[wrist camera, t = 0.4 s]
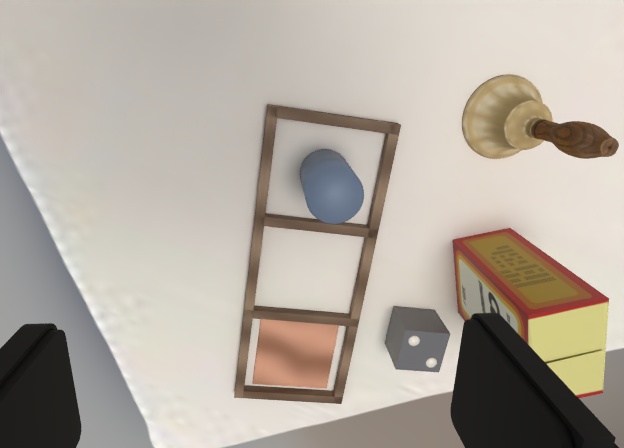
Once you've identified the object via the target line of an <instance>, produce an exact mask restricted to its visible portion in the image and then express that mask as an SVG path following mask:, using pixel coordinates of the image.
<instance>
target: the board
mask: <svg viewBox="0 0 624 448" xmlns="http://www.w3.org/2000/svg"><path fill="white" fill-rule="evenodd" d="M277 118H282V119H289V120H296V121H303V122H310V123H317V124H324V125H331V126H338V127H346V128H353V129H360V130H367V131H374V132H381V133H386V137H385V142H384V147H383V152H382V156H381V161H380V166H379V171H378V176H377V181H376V186H375V191H374V196H373V200H372V205H371V210H370V215H369V220H368V225H361V224H352V223H343V222H342V223H338V224H330V223H325V222H322V221H320V220H317V219H308V218H299V217H290V216H282V215H273V214H265V212H266V204H267V196H268V187H269V179H270V171H271V163H272V155H273V146H274V138H275V130H276V122H277ZM400 127H401V125H400V124H398V123H392V122H385V121H378V120H371V119H365V118H358V117H351V116H344V115H337V114H330V113H323V112H317V111H310V110H303V109H296V108H289V107H282V106H275V105H269V104H268V106H267V115H266V124H265V133H264V141H263V150H262V159H261V168H260V176H259V185H258V194H257V203H256V211H255V220H254V229H253V238H252V246H251V255H250V264H249V272H248V281H247V290H246V299H245V307H244V316H243V325H242V334H241V342H240V351H239V360H238V369H237V377H236V386H235V395H234V398H251V399H268V400H285V401H302V402H319V403H336V404H341V403H342V398H343V393H344V389H345V384H346V379H347V375H348V370H349V365H350V361H351V356H352V351H353V347H354V342H355V337H356V333H357V328H358V323H359V319H360V314H361V309H362V305H363V300H364V295H365V291H366V286H367V281H368V277H369V272H370V267H371V263H372V258H373V253H374V249H375V244H376V239H377V234H378V230H379V225H380V220H381V216H382V211H383V206H384V202H385V197H386V192H387V188H388V183H389V178H390V174H391V169H392V164H393V160H394V155H395V150H396V146H397V141H398V136H399V132H400ZM264 226H269V227H278V228H287V229H296V230H305V231H315V232H324V233H333V234H342V235H351V236H360V237H365V240H364V245H363V249H362V254H361V259H360V264H359V269H358V274H357V279H356V284H355V289H354V293H353V298H352V303H351V308H350V313H349V314H344V313H332V312H321V311H309V310H297V309H286V308H274V307H262V306H254V302H255V294H256V285H257V277H258V269H259V261H260V253H261V245H262V236H263V228H264ZM252 318H255V319H261V323H260V331H259V339H258V346H257V354H256V362H255V369H254V377H253V384H265V385H281V386H297V387H313V388H327V383H328V378H329V373H330V368H331V363H332V358H333V353H334V348H335V343H336V338H337V332H338V327H339V325H340V326H347V328H346V333H345V338H344V342H343V347H342V352H341V357H340V362H339V367H338V372H337V377H336V382H335V386H334V391H325V390H309V389H293V388H277V387H261V386H244V384H245V375H246V367H247V359H248V351H249V343H250V335H251V326H252Z"/></svg>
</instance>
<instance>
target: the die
mask: <svg viewBox="0 0 624 448" xmlns="http://www.w3.org/2000/svg"><path fill="white" fill-rule="evenodd" d="M449 336H450V333H449V331H448V330H447V328H446V327H445V325H444V323H443V322H442V320H441V319H440V317H439V316H438V314H437V313H436V311H435V310H431V309H420V308H409V307H398V306H393V311H392V315H391V319H390V323H389V327H388V331H387V336H386V340H385V344H386V347H387V349H388V352H389V354H390V357H391V359H392V361H393V364H394V366H395V369H400V370H414V371H429V372H439V370H440V367H441V364H442V360H443V357H444V353H445V350H446V347H447V343H448V340H449Z"/></svg>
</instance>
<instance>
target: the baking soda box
mask: <svg viewBox="0 0 624 448" xmlns="http://www.w3.org/2000/svg"><path fill="white" fill-rule="evenodd" d="M453 250H454V263H455V276H456V289H457V303H458V313H459V314H460V315H461V317H462V318H463V319H464V321H466V320H467V319H471V316H472V315H473V314H474V313H499V314H500V315H501V316H502V317H503V318H504V319H505V320H506V321H507V322H508V323H509V324H510V326H511V327H512V328H513V329H514V330H515V331H516V332H517V333H518V334H519V335H520V336H521V337H522V338H523V339H524V340H525V342H526V343H527V344H528V345H529V346H530V347H531V348H532V349H533V350H534V351H535V352H536V353H537V354H538V355H539V357H540V358H541V359H542V360H543V361H544V362H545V363H546V364H547V365H548V366H549V367H550V368H551V369H552V370H553V372H554V373H555V374H556V375H557V376H558V377H559V378H560V379H561V380H562V381H563V382H564V383H565V384H566V385H567V387H568V388H569V389H570V390H571V391H572V392H573V393H574V394H575V395H576V396H577V397H578V398H581V397H586V396H591V395H596V394H600V393H603V381H604V365H605V350H606V335H607V320H608V304H609V298H607V297H606V296H604V295H603V294H602V293H600V292H599V291H597V290H596V289H595V288H593V287H592V286H590V285H589V284H588V283H586V282H585V281H583V280H582V279H581V278H579V277H578V276H576V275H575V274H574V273H572V272H571V271H569V270H568V269H567V268H565V267H564V266H562V265H561V264H560V263H558V262H557V261H555V260H554V259H553V258H551V257H550V256H548V255H547V254H546V253H544V252H543V251H541V250H540V249H539V248H537V247H536V246H534V245H533V244H532V243H530V242H529V241H527V240H526V239H525V238H523V237H522V236H521V235H519V234H518V233H516V232H515V231H514V230H512V229H511V228H508V229H503V230H498V231H493V232H488V233H483V234H478V235H474V236H469V237H464V238H459V239H454V240H453Z"/></svg>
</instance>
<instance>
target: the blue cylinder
mask: <svg viewBox="0 0 624 448" xmlns="http://www.w3.org/2000/svg"><path fill="white" fill-rule="evenodd" d="M300 178H301V183H302V187H303V191H304V195H305V199H306V203H307V206H308V208H309V210H310V212H311V213H312V214H313V215H314V216H315V217H316V218H317V219H319V220H320V221H322V222H325V223H330V224H338V223H342V222H345V221H347V220H349V219H351V218H352V217H353V216H355V215H356V213H357V212H358V211H359V210H360V208H361V206H362V203H363V199H364V190H363V186H362V183H361V181H360V180H359V178H358V177H357V176H356V174H355V173H354V171H353V170H352V169H351V167H350V166H349V165H348V163H347V162H346V160H345V159H344V158H343V157H342V156H341V155H340V154H339V153H337V152H335V151H333V150H329V149H321V150H317V151H315V152H313V153H311V154H310V155H309V156H307V157H306V159H305V160H304V161H303V163H302V166H301V169H300Z"/></svg>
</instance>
